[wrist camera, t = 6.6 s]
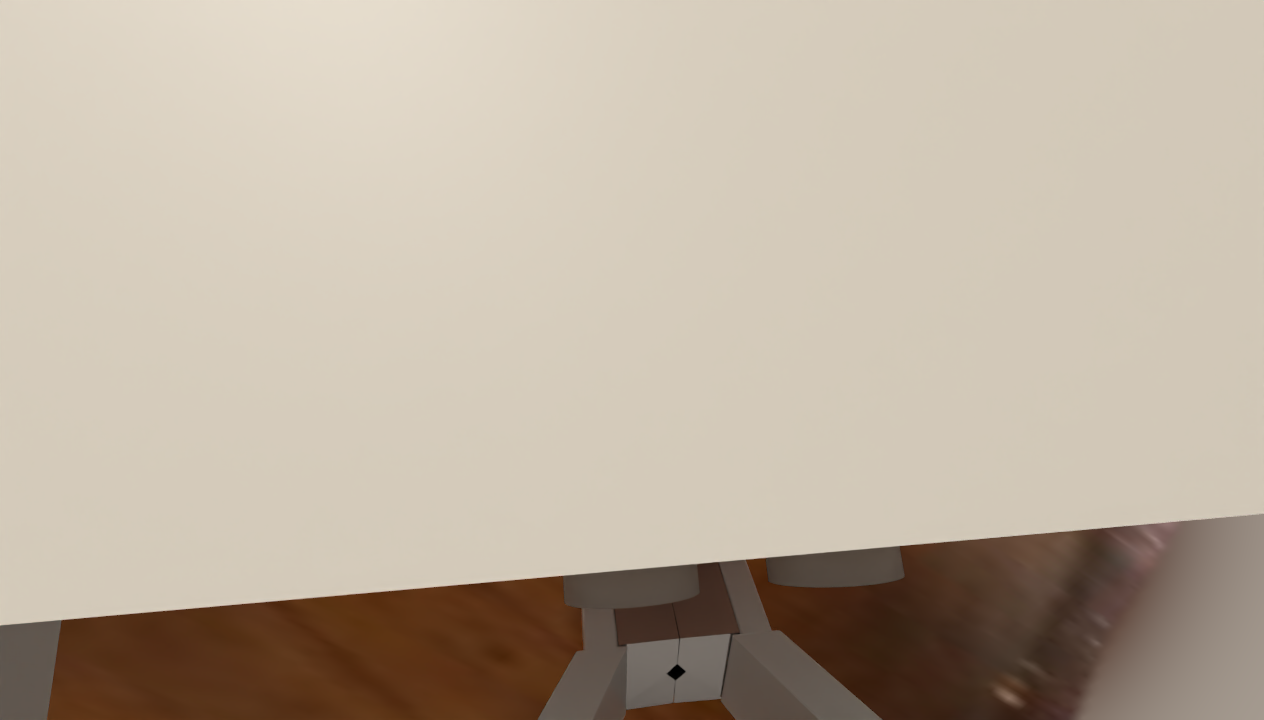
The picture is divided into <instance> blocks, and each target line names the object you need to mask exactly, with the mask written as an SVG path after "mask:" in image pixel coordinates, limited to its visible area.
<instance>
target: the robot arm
mask: <svg viewBox="0 0 1264 720" xmlns="http://www.w3.org/2000/svg"><path fill="white" fill-rule="evenodd" d="M697 569H698V580H699V590H700V593H699V594H698V595H696V596H694V597H692V598H689V599H685V600H682V601H677V602H672V603H667V604H661V605H653V606H645V607H634V608H619V609H587V608H581V609H582V636H583V650H581V651H576V653H575V655H574V656H573V658H572V660H571V662H570V663H569V665H568V667H567V669H566V670H565V672H564V674H563V676H562V677H561V679H560V681H559V683H558V684H557V686H556V688H555V690H554V691H553V693H552V695H551V697H550V698H549V700H548V702H547V704H546V706H545V707H544V709H543V711H542V713H541V714H540V716H539V718H538V720H623V719H624V717H625V714H626V710H628V709H635V708H642V707H649V706H655V705H662V704H669V703H673V701H674V703H678V702H690V701H701V700H713V699H721V702H722V703H723V705H724V706H725V707H726V708H727V709H728V711H729V712H730V713H731V714H732V716H733V717H734V718H735V719H736V720H882V719H881V718H880V717H879V716H877V715H876V714H875V713H874V712H873V711H872V710H871V709H869V708H868V707H867V706H866V705H865V704H864V703H863V702H861V701H860V700H859V699H858V698H857V697H856V696H855V695H853V694H852V693H851V692H850V691H849V690H848V689H847V688H845V687H844V686H843V685H842V684H841V683H840V682H839V681H837V680H836V679H835V678H834V677H833V676H832V675H831V674H829V673H828V672H827V671H826V670H825V669H824V668H823V667H821V666H820V665H819V664H818V663H817V662H816V661H815V660H813V659H812V658H811V657H810V656H809V655H808V654H807V653H805V652H804V651H803V650H802V649H801V648H800V647H799V646H797V645H796V644H795V643H794V642H793V641H792V640H791V639H789V638H788V637H787V636H786V635H785V634H784V633H783V632H781V631H780V630H775V631H772V630H771V627H770V624H769V622H768V619H767V616H766V614H765V611H764V608H763V605H762V603H761V600H760V597H759V595H758V592H757V589H756V586H755V584H754V581H753V578H752V575H751V573H750V570H749V567H748V565H747V562H746V560H734V561H723V562H712V563H700V564H697Z"/></svg>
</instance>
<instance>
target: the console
mask: <svg viewBox="0 0 1264 720" xmlns="http://www.w3.org/2000/svg"><path fill="white" fill-rule="evenodd" d="M1255 514H1264V0H0V625H10V624H21V623H33V622H44V621H55V620H66V619H78V618H89V617H100V616H112V615H123V614H134V613H146V612H157V611H168V610H180V609H191V608H202V607H214V606H225V605H236V604H248V603H259V602H270V601H282V600H293V599H304V598H316V597H327V596H338V595H349V594H361V593H372V592H383V591H395V590H406V589H417V588H429V587H440V586H451V585H463V584H474V583H485V582H497V581H508V580H519V579H531V578H542V577H553V576H563V584H564V603H565V604H566V605H568V606H571V607H577V608H587V609H619V608H634V607H645V606H653V605H661V604H667V603H672V602H677V601H682V600H685V599H689V598H692V597H694V596H696V595H698V594H699V593H700V590H699V580H698V569H697V564H700V563H712V562H723V561H734V560H746V559H757V558H766V566H767V574H768V581H769V582H771V583H774V584H778V585H784V586H794V587H851V586H864V585H874V584H881V583H887V582H892V581H896V580H899V579H902V578H903V577H904V576H905V575H904V569H903V564H902V558H901V552H900V546H904V545H915V544H927V543H938V542H949V541H961V540H972V539H983V538H995V537H1006V536H1017V535H1029V534H1040V533H1051V532H1063V531H1074V530H1085V529H1097V528H1108V527H1119V526H1131V525H1142V524H1153V523H1164V522H1176V521H1187V520H1198V519H1210V518H1221V517H1232V516H1244V515H1255Z"/></svg>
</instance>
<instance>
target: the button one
mask: <svg viewBox="0 0 1264 720" xmlns="http://www.w3.org/2000/svg"><path fill="white" fill-rule="evenodd" d="M60 627H61V620H55V621H44V622H33V623H21V624H10V625H0V720H47V716H48V709H49V703H50V696H51V689H52V682H53V675H54V668H55V661H56V654H57V648H58V641H59V634H60Z"/></svg>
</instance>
